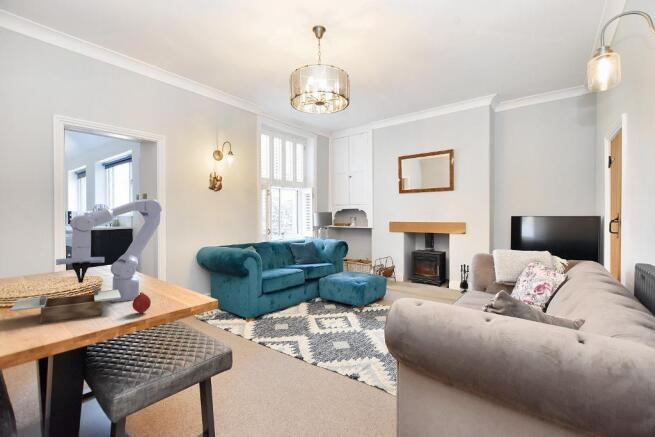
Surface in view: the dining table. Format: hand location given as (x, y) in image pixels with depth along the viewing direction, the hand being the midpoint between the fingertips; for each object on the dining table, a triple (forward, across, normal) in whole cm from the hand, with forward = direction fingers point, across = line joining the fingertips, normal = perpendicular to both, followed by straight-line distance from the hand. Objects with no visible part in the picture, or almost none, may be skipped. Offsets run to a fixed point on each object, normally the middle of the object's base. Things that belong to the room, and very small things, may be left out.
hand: (80, 282), depth 122 cm
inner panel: (+4, +8, -9) cm, 13 cm away
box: (+9, -2, -9) cm, 13 cm away
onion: (+10, +18, -20) cm, 29 cm away
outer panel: (+4, -13, -9) cm, 17 cm away
